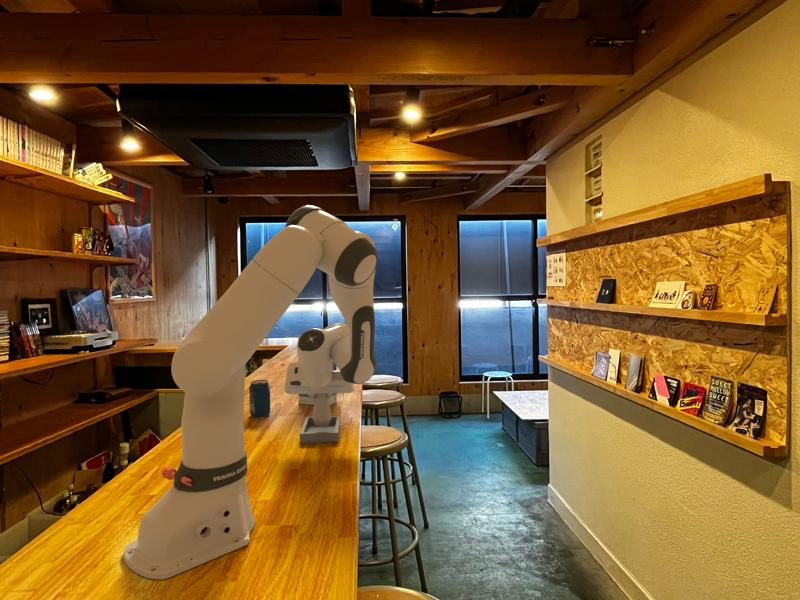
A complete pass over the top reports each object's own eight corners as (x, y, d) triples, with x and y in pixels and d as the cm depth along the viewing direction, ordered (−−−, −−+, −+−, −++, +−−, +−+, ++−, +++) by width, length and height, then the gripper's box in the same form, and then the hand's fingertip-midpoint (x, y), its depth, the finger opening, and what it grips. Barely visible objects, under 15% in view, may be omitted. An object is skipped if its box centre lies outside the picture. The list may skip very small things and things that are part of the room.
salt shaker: (328, 428, 139) (327, 386, 138) (309, 427, 140) (309, 385, 139) (333, 422, 145) (333, 381, 144) (316, 421, 146) (315, 380, 145)
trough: (337, 442, 135) (337, 432, 135) (299, 443, 134) (299, 433, 134) (340, 424, 151) (340, 415, 151) (306, 425, 150) (306, 416, 150)
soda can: (273, 412, 164) (272, 379, 164) (265, 418, 157) (265, 384, 157) (254, 412, 165) (254, 379, 164) (246, 418, 158) (245, 383, 157)
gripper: (353, 362, 135) (355, 387, 145) (283, 363, 134) (289, 388, 144) (353, 381, 131) (355, 405, 141) (280, 382, 129) (287, 406, 140)
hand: (321, 396), depth 142 cm, fingers closed on salt shaker, 3 cm apart
